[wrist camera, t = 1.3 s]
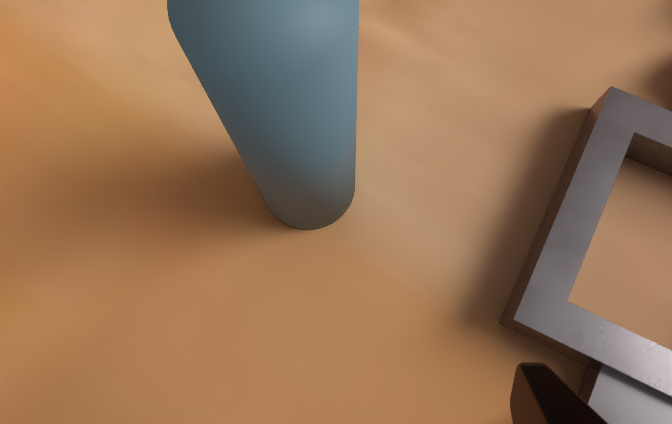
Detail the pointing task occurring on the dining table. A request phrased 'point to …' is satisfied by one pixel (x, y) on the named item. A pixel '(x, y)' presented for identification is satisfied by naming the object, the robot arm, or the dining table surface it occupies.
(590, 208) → the grey square frame handle
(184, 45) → the pin
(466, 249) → the dining table surface
